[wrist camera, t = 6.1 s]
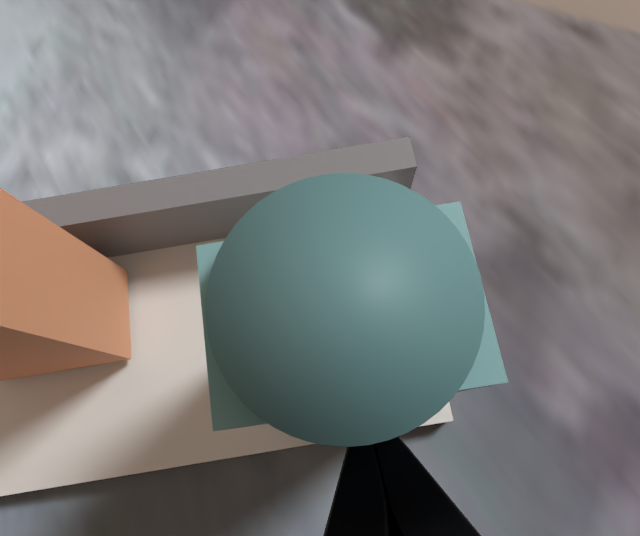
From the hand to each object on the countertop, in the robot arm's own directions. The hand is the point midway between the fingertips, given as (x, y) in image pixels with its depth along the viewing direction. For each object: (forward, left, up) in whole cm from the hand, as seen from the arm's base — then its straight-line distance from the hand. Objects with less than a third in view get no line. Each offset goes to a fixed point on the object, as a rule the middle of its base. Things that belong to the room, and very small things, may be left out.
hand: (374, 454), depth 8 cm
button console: (+6, +1, -8) cm, 10 cm away
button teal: (+2, -1, -7) cm, 7 cm away
